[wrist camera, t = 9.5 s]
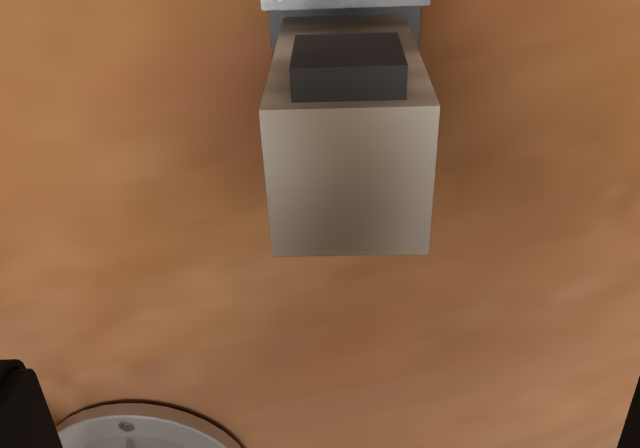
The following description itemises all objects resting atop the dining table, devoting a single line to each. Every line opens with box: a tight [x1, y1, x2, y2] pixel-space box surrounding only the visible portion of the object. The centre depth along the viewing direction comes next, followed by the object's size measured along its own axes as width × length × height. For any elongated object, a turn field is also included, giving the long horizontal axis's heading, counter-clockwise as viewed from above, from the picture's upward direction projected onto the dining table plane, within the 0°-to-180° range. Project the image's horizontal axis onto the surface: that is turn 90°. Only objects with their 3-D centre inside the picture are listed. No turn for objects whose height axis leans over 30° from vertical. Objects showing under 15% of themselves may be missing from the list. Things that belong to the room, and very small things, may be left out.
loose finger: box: [259, 14, 440, 257], centre depth 18 cm, size 4×5×8 cm
